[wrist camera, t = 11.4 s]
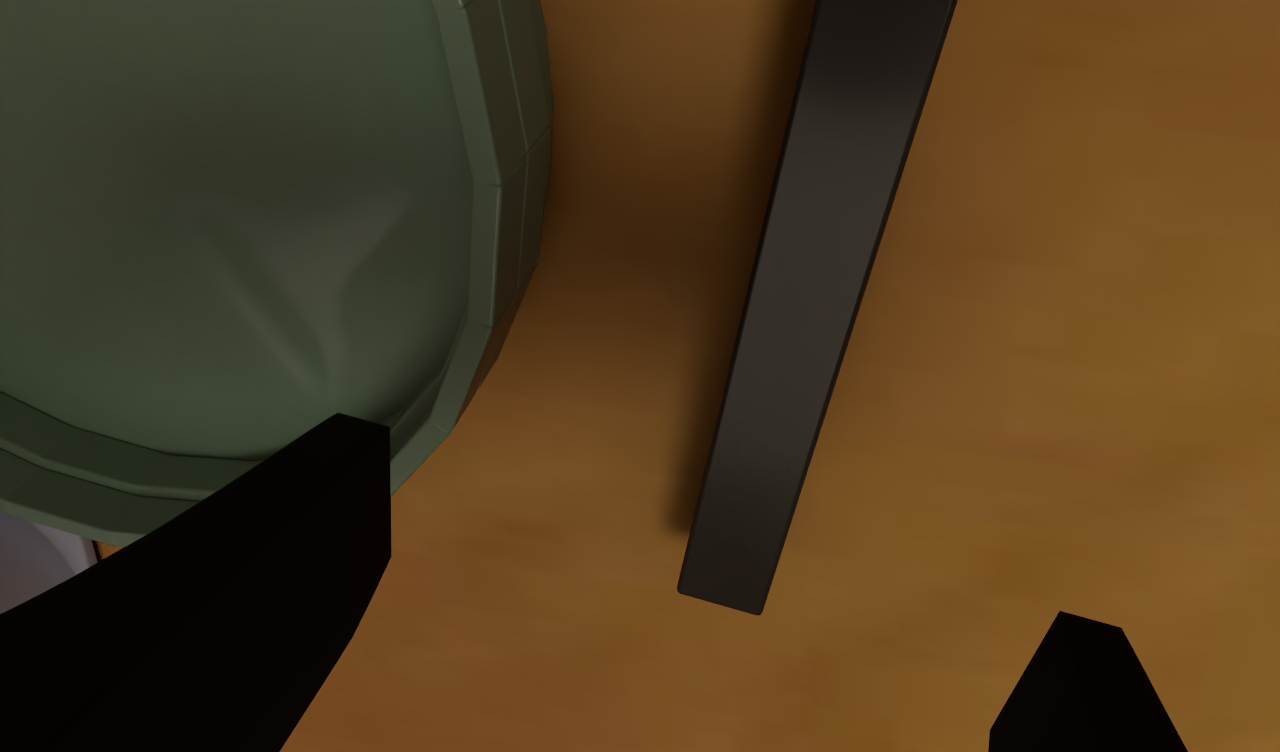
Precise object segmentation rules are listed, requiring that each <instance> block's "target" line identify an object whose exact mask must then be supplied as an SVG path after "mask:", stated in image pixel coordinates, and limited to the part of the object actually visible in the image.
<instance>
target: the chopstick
mask: <svg viewBox="0 0 1280 752" xmlns="http://www.w3.org/2000/svg"><path fill="white" fill-rule="evenodd" d="M957 1H958V0H816V2H815V6H814V10H813V15H812V19H811V23H810V27H809V31H808V36H807V40H806V44H805V48H804V53H803V57H802V61H801V65H800V70H799V74H798V78H797V82H796V86H795V91H794V95H793V99H792V103H791V108H790V112H789V116H788V120H787V124H786V129H785V133H784V137H783V141H782V146H781V150H780V154H779V158H778V163H777V167H776V171H775V175H774V179H773V184H772V188H771V192H770V196H769V201H768V205H767V209H766V213H765V217H764V222H763V226H762V230H761V234H760V239H759V243H758V247H757V251H756V255H755V260H754V264H753V268H752V272H751V277H750V281H749V285H748V289H747V294H746V298H745V302H744V306H743V310H742V315H741V319H740V323H739V327H738V332H737V336H736V340H735V344H734V348H733V353H732V357H731V361H730V365H729V370H728V374H727V378H726V382H725V387H724V391H723V395H722V399H721V403H720V408H719V412H718V416H717V420H716V425H715V429H714V433H713V437H712V441H711V446H710V450H709V454H708V458H707V463H706V467H705V471H704V475H703V479H702V484H701V488H700V492H699V496H698V501H697V505H696V509H695V513H694V518H693V522H692V526H691V530H690V534H689V539H688V543H687V547H686V551H685V556H684V560H683V564H682V568H681V572H680V577H679V581H678V585H677V590H678V592H679V593H680V594H684V595H687V596H691V597H694V598H698V599H701V600H705V601H708V602H712V603H715V604H719V605H722V606H726V607H729V608H733V609H736V610H740V611H743V612H747V613H750V614H754V615H760V614H761V613H762V612H763V609H764V606H765V603H766V600H767V596H768V593H769V590H770V587H771V584H772V581H773V578H774V574H775V571H776V568H777V565H778V562H779V559H780V556H781V552H782V549H783V546H784V543H785V540H786V537H787V534H788V531H789V527H790V524H791V521H792V518H793V515H794V512H795V509H796V505H797V502H798V499H799V496H800V493H801V490H802V487H803V483H804V480H805V477H806V474H807V471H808V468H809V465H810V462H811V458H812V455H813V452H814V449H815V446H816V443H817V440H818V436H819V433H820V430H821V427H822V424H823V421H824V418H825V415H826V411H827V408H828V405H829V402H830V399H831V396H832V393H833V389H834V386H835V383H836V380H837V377H838V374H839V371H840V367H841V364H842V361H843V358H844V355H845V352H846V349H847V346H848V342H849V339H850V336H851V333H852V330H853V327H854V324H855V320H856V317H857V314H858V311H859V308H860V305H861V302H862V298H863V295H864V292H865V289H866V286H867V283H868V280H869V277H870V273H871V270H872V267H873V264H874V261H875V258H876V255H877V251H878V248H879V245H880V242H881V239H882V236H883V233H884V229H885V226H886V223H887V220H888V217H889V214H890V211H891V208H892V204H893V201H894V198H895V195H896V192H897V189H898V186H899V182H900V179H901V176H902V173H903V170H904V167H905V164H906V160H907V157H908V154H909V151H910V148H911V145H912V142H913V139H914V135H915V132H916V129H917V126H918V123H919V120H920V117H921V113H922V110H923V107H924V104H925V101H926V98H927V95H928V92H929V88H930V85H931V82H932V79H933V76H934V73H935V70H936V66H937V63H938V60H939V57H940V54H941V51H942V48H943V44H944V41H945V38H946V35H947V32H948V29H949V26H950V23H951V19H952V16H953V13H954V10H955V7H956V4H957Z"/></svg>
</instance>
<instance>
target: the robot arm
mask: <svg viewBox="0 0 1280 752" xmlns="http://www.w3.org/2000/svg"><path fill="white" fill-rule="evenodd" d="M390 558H391V486H390V427H389V426H385V425H382V424H378V423H375V422H371V421H367V420H364V419H360V418H356V417H353V416H349V415H345V414H342V413H336V414H334V415H332V416H331V417H329V418H327V419H326V420H324V421H323V422H321V423H320V424H318V425H317V426H315V427H313V428H312V429H310V430H309V431H307V432H306V433H304V434H303V435H301V436H300V437H298V438H297V439H295V440H294V441H292V442H291V443H289V444H288V445H286V446H285V447H283V448H282V449H280V450H279V451H277V452H276V453H274V454H273V455H271V456H270V457H268V458H267V459H265V460H264V461H262V462H261V463H259V464H258V465H256V466H254V467H253V468H251V469H250V470H248V471H247V472H245V473H244V474H242V475H241V476H239V477H238V478H236V479H235V480H233V481H232V482H230V483H229V484H227V485H225V486H224V487H222V488H221V489H219V490H218V491H216V492H214V493H213V494H211V495H210V496H208V497H206V498H205V499H203V500H202V501H200V502H198V503H197V504H195V505H194V506H192V507H190V508H189V509H187V510H186V511H184V512H183V513H181V514H179V515H178V516H176V517H175V518H173V519H171V520H170V521H168V522H167V523H165V524H163V525H162V526H160V527H158V528H157V529H155V530H153V531H152V532H150V533H148V534H147V535H145V536H143V537H142V538H140V539H138V540H136V541H135V542H133V543H131V544H129V545H128V546H126V547H124V548H122V549H121V550H119V551H117V552H115V553H113V554H112V555H110V556H108V557H106V558H105V559H103V560H101V561H99V562H97V558H96V554H95V551H94V547H93V543H92V540H91V539H88V538H85V537H81V536H78V535H75V534H71V533H68V532H65V531H61V530H58V529H55V528H51V527H48V526H45V525H41V524H38V523H35V522H31V521H28V520H25V519H21V518H18V517H15V516H11V515H9V514H7V513H3V512H1V511H0V752H279V751H280V750H281V748H282V747H283V745H284V744H285V742H286V741H287V739H288V738H289V736H290V734H291V733H292V731H293V730H294V728H295V727H296V725H297V724H298V722H299V720H300V719H301V717H302V716H303V714H304V713H305V711H306V710H307V708H308V707H309V705H310V703H311V702H312V700H313V699H314V697H315V696H316V694H317V692H318V691H319V689H320V688H321V686H322V685H323V683H324V681H325V680H326V678H327V677H328V675H329V674H330V672H331V670H332V669H333V667H334V666H335V664H336V663H337V661H338V659H339V658H340V656H341V655H342V653H343V651H344V650H345V648H346V647H347V645H348V643H349V642H350V640H351V639H352V637H353V635H354V633H355V631H356V629H357V627H358V625H359V623H360V621H361V619H362V617H363V615H364V613H365V611H366V609H367V607H368V605H369V603H370V601H371V599H372V597H373V594H374V592H375V590H376V588H377V586H378V584H379V582H380V579H381V577H382V575H383V573H384V571H385V569H386V567H387V564H388V562H389V560H390ZM988 752H1188V751H1187V749H1186V748H1185V746H1184V744H1183V742H1182V740H1181V738H1180V736H1179V735H1178V733H1177V731H1176V729H1175V727H1174V725H1173V723H1172V722H1171V720H1170V718H1169V716H1168V714H1167V712H1166V710H1165V708H1164V706H1163V705H1162V703H1161V701H1160V699H1159V697H1158V695H1157V693H1156V691H1155V689H1154V688H1153V686H1152V684H1151V682H1150V680H1149V678H1148V676H1147V674H1146V672H1145V671H1144V669H1143V667H1142V665H1141V663H1140V661H1139V659H1138V657H1137V656H1136V654H1135V652H1134V650H1133V648H1132V646H1131V645H1130V643H1129V641H1128V639H1127V637H1126V635H1125V634H1124V632H1123V630H1122V628H1120V627H1116V626H1113V625H1109V624H1105V623H1102V622H1098V621H1095V620H1091V619H1087V618H1084V617H1080V616H1076V615H1073V614H1069V613H1065V612H1062V611H1059V613H1058V615H1057V617H1056V618H1055V620H1054V622H1053V623H1052V625H1051V627H1050V629H1049V630H1048V632H1047V634H1046V635H1045V637H1044V639H1043V640H1042V642H1041V644H1040V646H1039V647H1038V649H1037V651H1036V652H1035V654H1034V656H1033V657H1032V659H1031V661H1030V663H1029V664H1028V666H1027V668H1026V669H1025V671H1024V673H1023V675H1022V676H1021V678H1020V680H1019V681H1018V683H1017V685H1016V686H1015V688H1014V690H1013V692H1012V693H1011V695H1010V697H1009V698H1008V700H1007V702H1006V704H1005V705H1004V707H1003V709H1002V710H1001V712H1000V714H999V715H998V717H997V719H996V721H995V722H994V724H993V726H992V727H991V729H990V738H989V751H988Z"/></svg>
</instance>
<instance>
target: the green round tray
mask: <svg viewBox="0 0 1280 752" xmlns="http://www.w3.org/2000/svg"><path fill="white" fill-rule="evenodd" d="M552 103H553V97H552V88H551V79H550V69H549V60H548V50H547V41H546V31H545V24H544V20H543V16H542V11H541V7H540V3H539V0H0V511H1V512H3V513H7V514H9V515H11V516H15V517H18V518H21V519H25V520H28V521H31V522H35V523H38V524H41V525H45V526H48V527H51V528H55V529H58V530H61V531H65V532H68V533H71V534H75V535H78V536H81V537H85V538H88V539H91V540H95V541H98V542H101V543H105V544H108V545H110V544H111V545H113V546H122V547H126V546H128V545H129V544H131V543H133V542H135V541H136V540H138V539H140V538H142V537H143V536H145V535H147V534H148V533H150V532H152V531H153V530H155V529H157V528H158V527H160V526H162V525H163V524H165V523H167V522H168V521H170V520H171V519H173V518H175V517H176V516H178V515H179V514H181V513H183V512H184V511H186V510H187V509H189V508H190V507H192V506H194V505H195V504H197V503H198V502H200V501H202V500H203V499H205V498H206V497H208V496H210V495H211V494H213V493H214V492H216V491H218V490H219V489H221V488H222V487H224V486H225V485H227V484H229V483H230V482H232V481H233V480H235V479H236V478H238V477H239V476H241V475H242V474H244V473H245V472H247V471H248V470H250V469H251V468H253V467H254V466H256V465H258V464H259V463H261V462H262V461H264V460H265V459H267V458H268V457H270V456H271V455H273V454H274V453H276V452H277V451H279V450H280V449H282V448H283V447H285V446H286V445H288V444H289V443H291V442H292V441H294V440H295V439H297V438H298V437H300V436H301V435H303V434H304V433H306V432H307V431H309V430H310V429H312V428H313V427H315V426H317V425H318V424H320V423H321V422H323V421H324V420H326V419H327V418H329V417H331V416H332V415H334V414H336V413H342V414H345V415H349V416H353V417H356V418H360V419H364V420H367V421H371V422H375V423H378V424H382V425H385V426H389V427H390V486H391V496H392V495H393V494H394V493H395V492H396V491H397V489H398V488H399V487H400V486H401V485H402V484H403V483H404V482H405V481H406V480H407V479H408V478H409V477H410V476H411V475H412V474H413V472H414V471H415V470H416V469H417V468H418V467H419V466H420V465H421V464H422V463H423V462H424V461H425V460H426V459H427V458H428V457H429V456H430V454H431V453H432V452H433V451H434V450H435V449H436V448H437V447H438V446H439V445H440V444H441V443H442V442H443V441H444V440H445V439H446V437H447V436H448V435H449V434H450V433H451V432H452V430H453V429H454V427H455V425H456V424H457V422H458V421H459V419H460V417H461V416H462V414H463V413H464V411H465V410H466V408H467V406H468V405H469V403H470V402H471V400H472V398H473V397H474V395H475V393H476V392H477V390H478V389H479V387H480V386H481V384H482V383H483V381H484V379H485V378H486V376H487V375H488V373H489V371H490V370H491V368H492V367H493V365H494V364H495V362H496V360H497V359H498V356H499V354H500V352H501V349H502V347H503V344H504V342H505V340H506V337H507V335H508V333H509V330H510V328H511V325H512V323H513V321H514V318H515V316H516V313H517V311H518V309H519V306H520V304H521V302H522V299H523V297H524V294H525V292H526V290H527V287H528V285H529V282H530V280H531V278H532V275H533V273H534V271H535V268H536V266H537V263H538V258H539V250H540V239H541V228H542V217H543V211H544V205H545V198H546V192H547V186H548V180H549V174H550V168H551V147H552Z"/></svg>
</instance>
